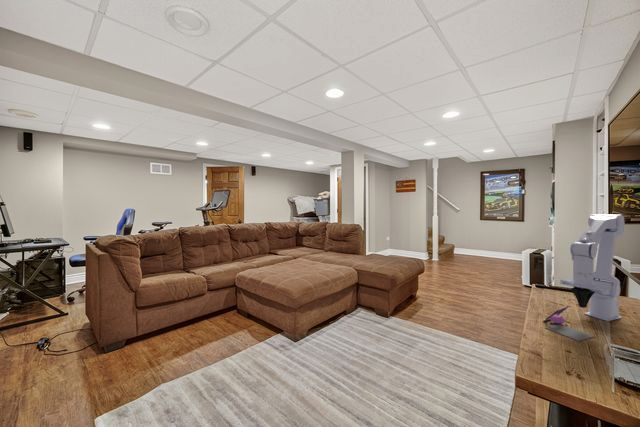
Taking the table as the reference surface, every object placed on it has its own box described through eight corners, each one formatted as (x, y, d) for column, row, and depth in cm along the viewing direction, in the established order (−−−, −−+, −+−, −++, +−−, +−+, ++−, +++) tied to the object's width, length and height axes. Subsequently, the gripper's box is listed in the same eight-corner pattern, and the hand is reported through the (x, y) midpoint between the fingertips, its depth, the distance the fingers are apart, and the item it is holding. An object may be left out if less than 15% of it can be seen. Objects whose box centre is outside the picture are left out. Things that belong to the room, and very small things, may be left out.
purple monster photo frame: (554, 308, 108) (540, 320, 113) (567, 320, 104) (552, 332, 110) (565, 304, 110) (551, 316, 115) (578, 316, 106) (562, 327, 112)
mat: (560, 324, 109) (560, 323, 109) (595, 337, 99) (595, 336, 99) (544, 327, 107) (544, 327, 107) (578, 341, 96) (578, 340, 96)
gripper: (555, 269, 112) (555, 301, 112) (600, 278, 98) (599, 315, 98) (567, 267, 114) (567, 299, 114) (612, 276, 100) (612, 312, 100)
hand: (582, 306), depth 106 cm, fingers closed
